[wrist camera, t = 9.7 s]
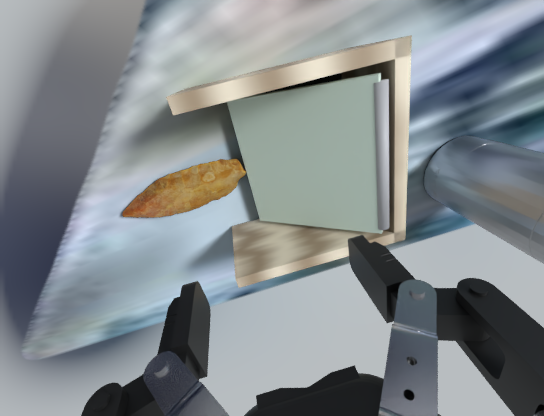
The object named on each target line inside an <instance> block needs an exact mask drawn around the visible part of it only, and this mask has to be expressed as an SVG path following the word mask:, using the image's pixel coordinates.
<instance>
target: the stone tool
mask: <svg viewBox="0 0 544 416" xmlns="http://www.w3.org/2000/svg"><path fill="white" fill-rule="evenodd" d="M245 174H246V170H245V169H244V168H243V167H242V165H241V164H240V162H239V161H238V160H237V159H231V160H223V159H220V160H218V161H213V162H209V163H204V164H199V165H197V166H192V167H190V168H189V169H185V170H181V171H178V172H175V173H172V174H168V175H167V176H165V177H163V178H159V179H158V180H156V181H155V182H154V183H153V184H151V185H150V186H149V187H148V188H147V189H146V190H145V191H144V192H143V193H141V194H140V195H138V196H137V197H136V198H135V199H134V200H133V201H132V202H131V203H130V205H129V206H128V207H127V208H126V209H125V210H124V211H123V213H122V215H123V217H136V218H138V217H147V218H149V217H163V216H171V215H174V214H178V213H183V212H187V211H191V210H193V209H196V208H199V207H201V206H203V205H205V204H208V203H209V202H211V201H212V200H218V199H220V198H221V197H223V196H226V195H228V194H229V193H231V192H232V191H233V190H234V189H235V188H236V186H237V183H238V181H239V179H240V178H242V177H243V176H245Z"/></svg>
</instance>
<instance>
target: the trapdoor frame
mask: <svg viewBox="0 0 544 416" xmlns="http://www.w3.org/2000/svg"><path fill="white" fill-rule="evenodd" d="M411 38H412V35H411V36H406V37H401V38H396V39H391V40H386V41H381V42H376V43H371V44H366V45H361V46H356V47H351V48H347V49H343V50H339V51H335V52H331V53H327V54H323V55H319V56H315V57H311V58H307V59H303V60H299V61H295V62H291V63H287V64H283V65H279V66H275V67H271V68H267V69H263V70H259V71H255V72H251V73H247V74H243V75H239V76H235V77H231V78H227V79H223V80H219V81H215V82H211V83H207V84H203V85H199V86H195V87H191V88H187V89H184V90H181V91H179V92H177V93H174V94H172V95H170V96H168V97H166V98H167V101H168V103H169V106H170V108H171V111H172V114H173V115H177V114H181V113H185V112H189V111H193V110H197V109H201V108H204V107H208V106H212V105H216V104H220V103H224V102H228V101H232V100H236V99H240V98H244V97H248V96H252V95H255V94H259V93H263V92H267V91H271V90H275V89H279V88H283V87H287V86H291V85H295V84H299V83H303V82H307V81H310V80H314V79H318V78H322V77H326V76H330V75H334V74H338V73H341V77H342V80H343V79H348V78H354V77H359V76H365V75H370V74H376V73H381V80H383V79H389V229H387V230H383V232H382V234H379V233H370V232H361V231H352V230H343V229H333V228H324V227H315V226H306V225H297V224H287V223H278V222H269V221H260V219H256V220H253V221H249V222H246V223H242V224H238V225H235V226H232V234H233V249H234V263H235V278H236V281H237V284H238V287H239V288H240V287H244V286H247V285H251V284H254V283H257V282H261V281H264V280H268V279H271V278H275V277H278V276H282V275H285V274H289V273H292V272H295V271H299V270H302V269H306V268H309V267H313V266H316V265H320V264H323V263H327V262H330V261H333V260H337V259H340V258H344V257H347V256H349V249H348V239H349V238H353V237H356V236H360V235H363V236H364V237H365V238H366V239H367V240H368V241H369V243H372V242H377V243H379V244H381V245H383V246H385V245H389V244H392V243H396V242H399V241H402V240H405V236H406V203H407V170H408V137H409V104H410V71H411Z"/></svg>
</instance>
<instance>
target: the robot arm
mask: <svg viewBox="0 0 544 416" xmlns="http://www.w3.org/2000/svg"><path fill="white" fill-rule="evenodd" d="M424 186H425V189H426V191H427V193H428V194H429V196H431V197H432V198H433V199H435V200H437V201H438V202H440V203H442V204H443V205H445V206H447V207H448V208H450V209H452V210H453V211H455V212H457V213H458V214H460V215H462V216H463V217H465V218H467V219H469V220H470V221H472V222H474V223H475V224H477V225H479V226H480V227H482V228H484V229H486V230H487V231H489V232H491V233H492V234H494V235H496V236H497V237H499V238H501V239H503V240H504V241H506V242H508V243H510V244H511V245H513V246H514V247H516V248H518V249H519V250H521V251H523V252H525V253H526V254H528V255H530V256H531V257H533V258H535V259H537V260H538V261H540V262H542V263H544V153H542V152H538V151H534V150H530V149H526V148H521V147H517V146H513V145H509V144H505V143H501V142H497V141H493V140H486V139H482V138H478V137H474V136H462V137H458V138H455V139H453V140H451V141H449V142H448V143H446V144H445V145H443V146H442V147H441V148H440V149H439V150H438V151H437V152H436V153H435V155H434V156H433V157H432V158H431V160H430V162H429V164H428V166H427V169H426V171H425V176H424ZM348 249H349V259H350V265H351V268H352V270H353V272H354V274H355V275H356V277H357V278H358V280H359V281H360V283H361V284H362V286H363V287H364V289H365V290H366V292H367V293H368V295H369V297H370V298H371V299H372V301H373V303H374V304H375V305H376V307H377V309H378V310H379V312H380V313H381V315H382V316H383V318H384V319H385V321H386V322H387V323H389V322H393V321H394V324H392V329H391V336H390V342H389V348H388V355H387V362H386V369H385V375H384V379H382V378H380V377H377V376H374V375H370V374H358V372H357V370H356V368H355V366H352V367H348V368H345V369H342V370H338V371H335V372H332V373H330V374H328V375H327V376H325V377H323V378H322V379H321V380H319V381H318V382H316V383H314V384H313V385H311V386H310V387H307V388H279V389H276V390H273V391H270V392H266V393H263V394H260V395H257V396H256V399H257V405H256V406H254V407H253V408H252V409H251V410H249V411H248V412H247V413H246V414H245V415H244V416H441V415H439V414H438V408H437V407H438V340H448V341H456V342H457V343H458V344H459V346H460V347H461V348H462V350H463V351H464V352H465V353H466V355H467V356H468V357H469V359H470V360H471V361H472V362H473V363H474V365H475V366H476V367H477V369H478V370H479V371H480V372H481V374H482V375H483V376H484V377H485V379H486V380H487V381H488V382H489V384H490V385H491V386H492V388H493V389H494V390H495V391H496V393H497V394H498V395H499V396H500V398H501V399H502V400H503V401H504V403H505V404H506V405H507V407H508V408H509V409H510V410H511V412H512V413H513V414H514V415H515V416H544V328H543V327H542V326H541V325H540V324H538V323H537V322H536V321H535V320H534V319H532V318H531V317H530V316H529V315H528V314H527V313H526V312H524V311H523V310H522V309H521V308H519V306H517V305H516V304H515V303H514V302H513V301H512V300H510V299H509V298H508V297H507V296H506V295H505V294H503V293H502V292H501V291H500V290H498V289H497V288H496V287H495V286H494V285H492V284H490V283H489V282H487V281H484V280H481V279H476V278H467V279H463V280H461V281H460V282H459V283H458V285H457V288H433V287H432V286H431V285H430V284H428V283H426V282H424V281H421V280H416V279H415V278H414V277H413V276H412V275H411V274H410V273H409V272H408V271H407V270H406V269H405V268H404V267H403V265H402V264H401V263H400V262H399V261H398V260H397V259H396V258H395V257H394V256H393V255H392V254H391V253H390V252H389V250H388V249H387V248H386V247H385V246H383V245H381V244H379V243H377V242H372V243H369V241H368V240H367V239H366V238H365V237H364V236H363V235H360V236H356V237H353V238H349V239H348ZM166 317H167V318H166V320H165V326H164V329H163V333H162V337H161V342H160V346H159V350H158V354H157V356H155V357H154V358H153V359H152V360H151V361H150V362H149V364H148V365H147V367H146V369H145V371H144V374H143V375H142V376H140V377H139V378H137V379H135V380H133V381H132V382H130V383H129V384H127V385H125V386H124V387H121V386H120V385H119V384H118V383H110V384H107V385H105V386H103V387H101V388H100V389H99V390H97V391H96V392H95V393H94V394H93V395H92V397H91V398H90V399H89V400H88V402H87V403H86V405H85V407H84V410H83V412H82V415H81V416H229V415H228V413H227V412H226V411H225V410H224V409H223V407H222V406H221V405H220V404H219V403H218V402H217V400H216V399H215V398H214V397H213V396H212V394H211V393H210V392H209V391H208V390H207V388H206V387H205V386H204V385H203V384H202V383H201V382H199V379H200V378H203V377H207V369H208V368H207V367H208V349H209V331H210V306H209V303H208V300H207V298H206V296H205V294H204V292H203V290H202V288H201V286H200V284H199V282H198V281H196V282H193V283H189V284H186V285H183V286H182V289H181V294H180V297H177V298H174V300H173V301H172V303H171V304H170V306H169V307H168V312H167V316H166Z"/></svg>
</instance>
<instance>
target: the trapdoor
mask: <svg viewBox="0 0 544 416" xmlns="http://www.w3.org/2000/svg"><path fill="white" fill-rule="evenodd" d="M227 105H228V108H229V112H230V115H231V119H232V123H233V126H234V130H235V133H236V137H237V140H238V144H239V147H240V151H241V155H242V158H243V162H244V165H245V169H246V172H247V176H248V179H249V183H250V187H251V190H252V194H253V197H254V201H255V204H256V208H257V211H258V215H259V218H260V221H269V222H278V223H287V224H297V225H306V226H315V227H324V228H333V229H343V230H352V231H361V232H370V233H379V234H382V232H383V230H387V229H389V79H383V80H381V73H376V74H370V75H365V76H359V77H354V78H348V79H343V80H337V81H331V82H326V83H320V84H315V85H309V86H304V87H298V88H292V89H287V90H281V91H276V92H270V93H264V94H259V95H253V96H248V97H244V98H240V99H236V100H232V101H228V102H227Z"/></svg>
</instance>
